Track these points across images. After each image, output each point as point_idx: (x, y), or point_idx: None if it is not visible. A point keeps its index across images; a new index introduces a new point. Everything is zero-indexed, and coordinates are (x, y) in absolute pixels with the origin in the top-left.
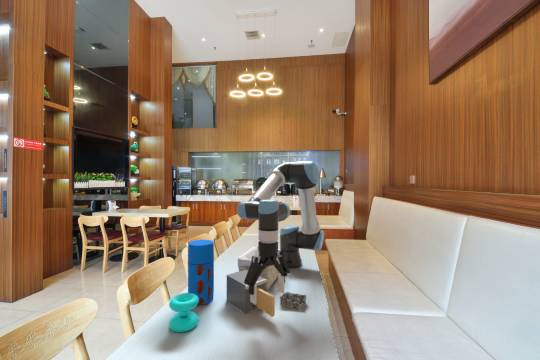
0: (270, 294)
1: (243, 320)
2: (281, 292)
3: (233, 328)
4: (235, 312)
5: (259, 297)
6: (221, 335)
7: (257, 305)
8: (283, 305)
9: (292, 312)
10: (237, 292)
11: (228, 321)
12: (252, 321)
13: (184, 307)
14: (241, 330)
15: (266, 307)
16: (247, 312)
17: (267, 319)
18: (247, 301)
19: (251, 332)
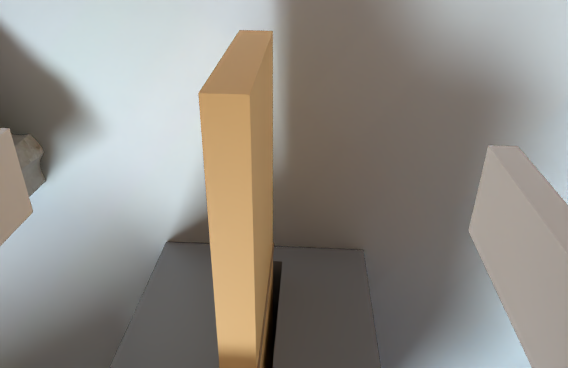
0: (212, 174)
1: (432, 197)
2: (13, 154)
3: (564, 165)
4: (398, 304)
5: (264, 274)
6: None
7: (271, 243)
8: (33, 145)
9: (16, 14)
10: None
11: None
12: (392, 142)
13: None
14: (547, 104)
15: (267, 139)
16: (341, 251)
17: (278, 83)
18: (346, 314)
19: (517, 25)
